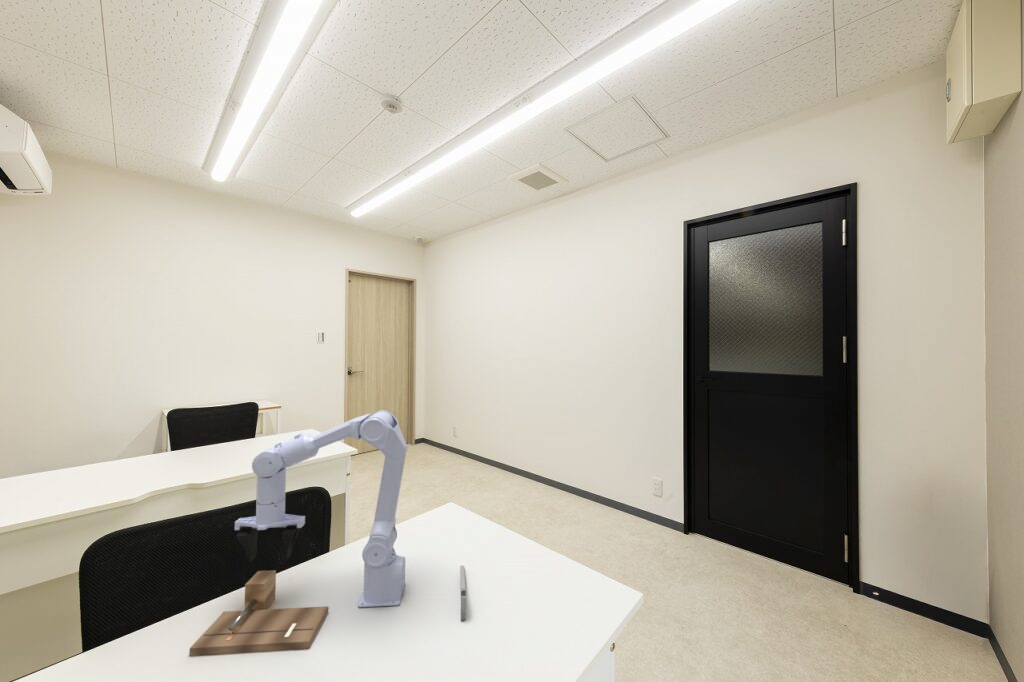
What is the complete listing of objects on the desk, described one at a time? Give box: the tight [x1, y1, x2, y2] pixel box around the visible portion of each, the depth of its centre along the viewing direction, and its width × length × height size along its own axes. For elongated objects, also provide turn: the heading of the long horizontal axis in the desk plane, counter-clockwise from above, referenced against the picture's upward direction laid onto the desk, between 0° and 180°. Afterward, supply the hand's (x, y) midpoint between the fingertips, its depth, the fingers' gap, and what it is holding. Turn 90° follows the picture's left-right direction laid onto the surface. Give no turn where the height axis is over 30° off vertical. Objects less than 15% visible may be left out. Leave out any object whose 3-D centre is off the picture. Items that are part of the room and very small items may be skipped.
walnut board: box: [188, 605, 329, 657], centre depth 78 cm, size 22×10×2 cm, turn 96°
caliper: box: [459, 565, 467, 621], centre depth 93 cm, size 20×1×6 cm, turn 8°
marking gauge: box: [229, 569, 277, 634], centre depth 82 cm, size 4×13×7 cm, turn 6°
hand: (269, 558), depth 88 cm, fingers open, 7 cm apart
